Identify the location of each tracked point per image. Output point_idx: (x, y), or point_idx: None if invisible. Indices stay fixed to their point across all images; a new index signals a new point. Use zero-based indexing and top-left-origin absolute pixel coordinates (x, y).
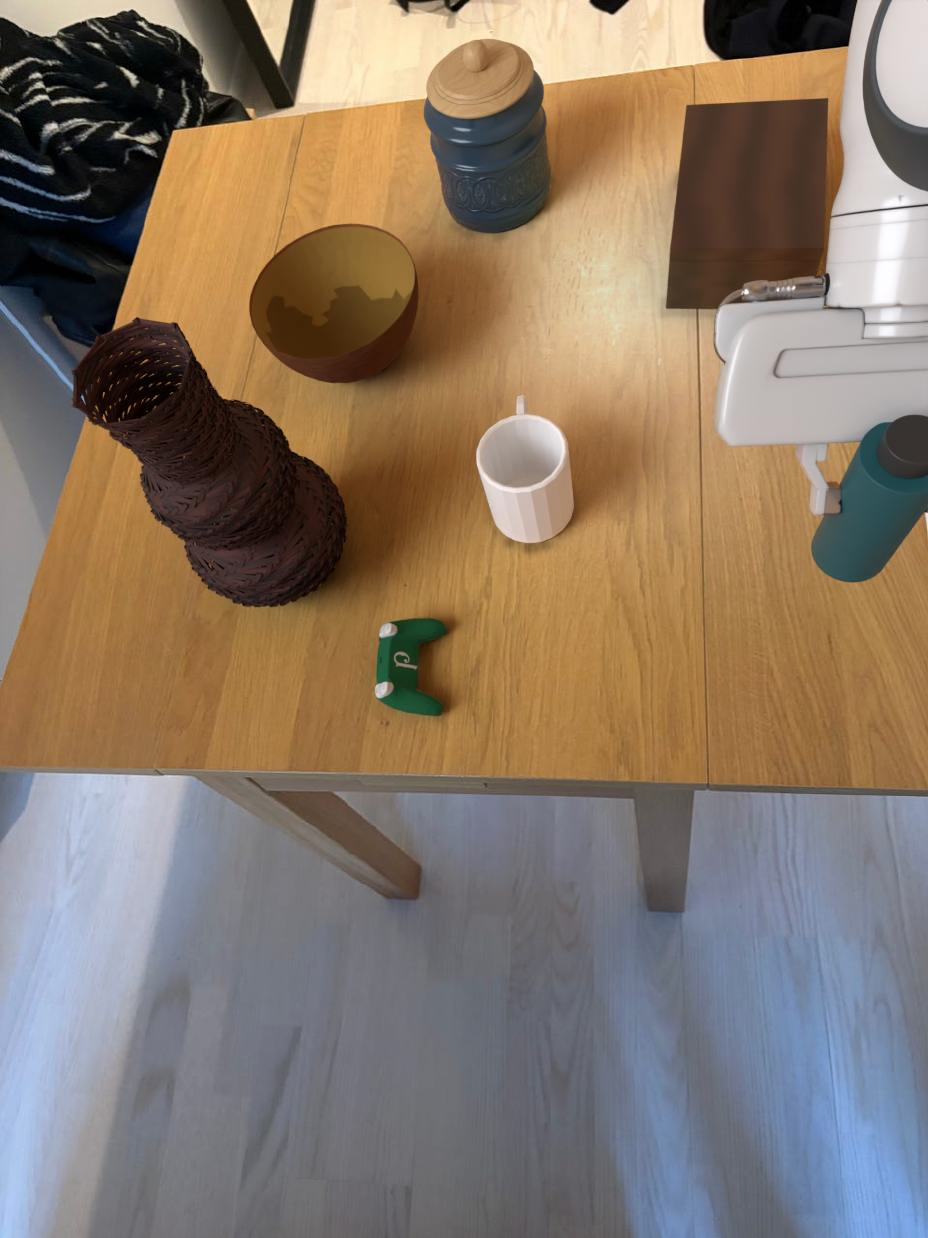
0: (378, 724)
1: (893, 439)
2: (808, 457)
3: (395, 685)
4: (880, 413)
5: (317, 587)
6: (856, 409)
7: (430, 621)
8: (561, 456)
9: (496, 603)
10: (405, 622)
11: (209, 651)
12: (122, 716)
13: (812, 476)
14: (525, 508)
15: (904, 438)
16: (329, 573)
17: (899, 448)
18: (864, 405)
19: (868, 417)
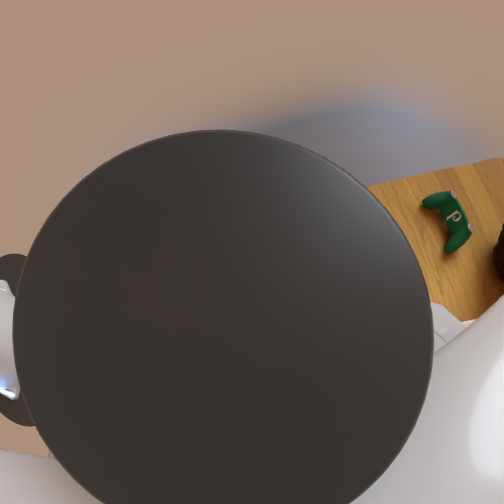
0: (439, 191)
1: (376, 288)
2: (439, 317)
3: (451, 197)
4: (381, 486)
5: (500, 237)
6: (462, 448)
7: (457, 245)
8: None
9: (432, 279)
10: (466, 237)
11: (499, 208)
12: (497, 175)
13: None
14: (464, 324)
15: (301, 324)
16: (502, 247)
17: (315, 210)
18: (451, 473)
19: (413, 453)
